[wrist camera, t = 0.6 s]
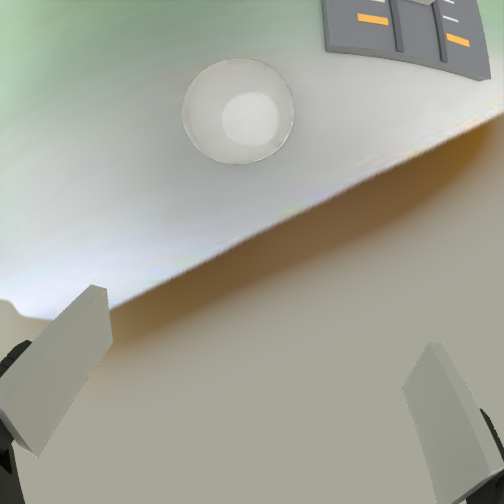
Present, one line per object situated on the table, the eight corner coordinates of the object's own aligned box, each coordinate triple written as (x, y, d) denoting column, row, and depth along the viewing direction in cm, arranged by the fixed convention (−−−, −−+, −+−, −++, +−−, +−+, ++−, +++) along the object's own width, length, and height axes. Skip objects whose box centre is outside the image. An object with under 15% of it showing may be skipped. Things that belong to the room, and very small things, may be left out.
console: (317, -31, 24) (320, -45, 20) (465, 2, 22) (477, -5, 18) (326, 52, 28) (331, 43, 25) (478, 80, 26) (493, 78, 23)
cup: (306, 111, 31) (319, 98, 20) (259, 172, 34) (250, 189, 23) (241, 68, 30) (223, 37, 19) (197, 129, 33) (158, 127, 22)
